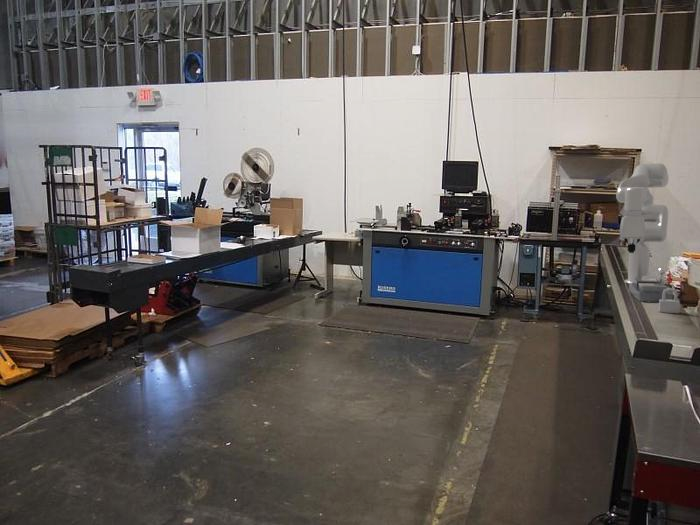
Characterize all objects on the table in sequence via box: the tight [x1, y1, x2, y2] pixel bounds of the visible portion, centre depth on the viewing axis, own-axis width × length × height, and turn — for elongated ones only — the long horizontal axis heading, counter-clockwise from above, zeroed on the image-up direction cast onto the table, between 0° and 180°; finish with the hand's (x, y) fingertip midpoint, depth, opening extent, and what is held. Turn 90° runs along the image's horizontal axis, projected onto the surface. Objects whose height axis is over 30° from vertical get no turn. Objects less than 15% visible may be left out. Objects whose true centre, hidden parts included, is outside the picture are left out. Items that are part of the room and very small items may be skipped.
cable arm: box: [642, 267, 667, 285], centre depth 255 cm, size 27×3×10 cm, turn 134°
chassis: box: [628, 278, 673, 303], centre depth 252 cm, size 26×13×7 cm, turn 162°
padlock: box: [658, 287, 681, 314], centre depth 222 cm, size 7×4×10 cm, turn 64°
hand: (631, 252), depth 255 cm, fingers closed
